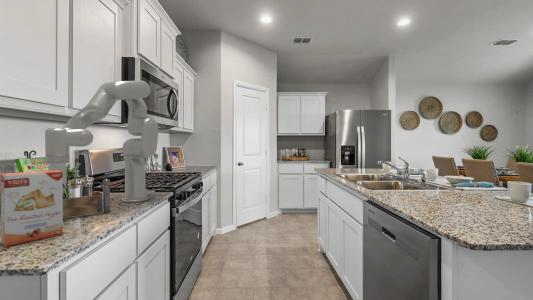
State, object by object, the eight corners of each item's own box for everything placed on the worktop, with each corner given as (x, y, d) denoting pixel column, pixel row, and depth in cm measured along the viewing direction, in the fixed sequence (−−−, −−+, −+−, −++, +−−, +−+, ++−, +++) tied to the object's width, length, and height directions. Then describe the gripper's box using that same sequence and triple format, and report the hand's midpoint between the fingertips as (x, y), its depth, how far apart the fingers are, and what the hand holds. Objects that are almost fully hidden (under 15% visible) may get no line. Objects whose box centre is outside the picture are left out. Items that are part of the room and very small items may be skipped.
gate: (101, 210, 113) (101, 193, 113) (103, 211, 112) (102, 194, 112) (36, 220, 99) (36, 201, 99) (37, 222, 98) (36, 202, 97)
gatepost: (109, 211, 116) (109, 178, 116) (111, 213, 114) (111, 178, 113) (101, 212, 114) (101, 178, 113) (103, 214, 112) (103, 179, 111)
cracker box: (5, 248, 77) (3, 174, 76) (0, 243, 80) (-2, 173, 80) (64, 234, 88) (63, 170, 87) (58, 230, 91) (57, 169, 91)
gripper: (43, 159, 109) (44, 204, 109) (47, 161, 98) (48, 211, 99) (66, 158, 114) (67, 201, 115) (72, 160, 103) (73, 207, 104)
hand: (58, 205), depth 107 cm, fingers closed
